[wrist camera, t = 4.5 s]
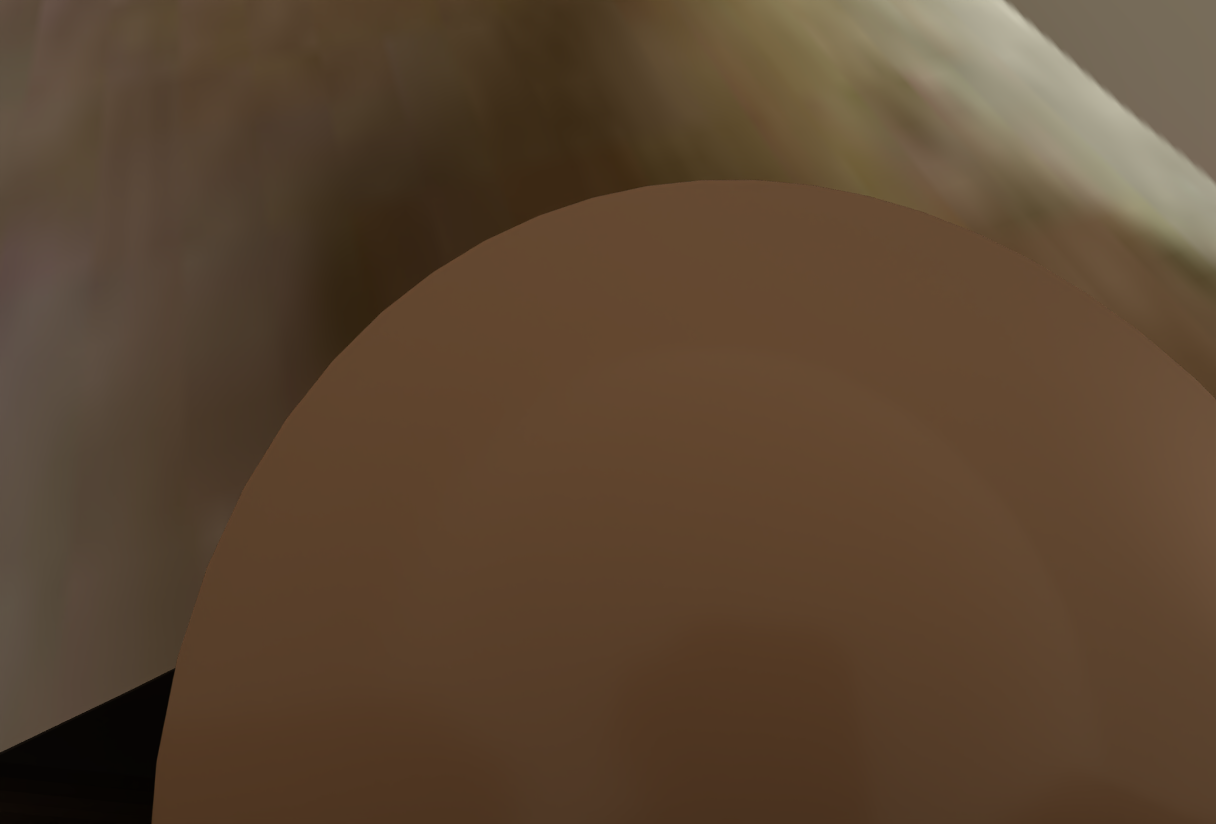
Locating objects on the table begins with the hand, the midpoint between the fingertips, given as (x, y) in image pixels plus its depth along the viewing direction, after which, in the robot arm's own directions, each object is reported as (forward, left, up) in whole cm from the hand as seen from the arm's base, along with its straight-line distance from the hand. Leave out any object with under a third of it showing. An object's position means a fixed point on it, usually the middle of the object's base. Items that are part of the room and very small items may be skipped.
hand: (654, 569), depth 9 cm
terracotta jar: (-1, -1, -7) cm, 7 cm away
